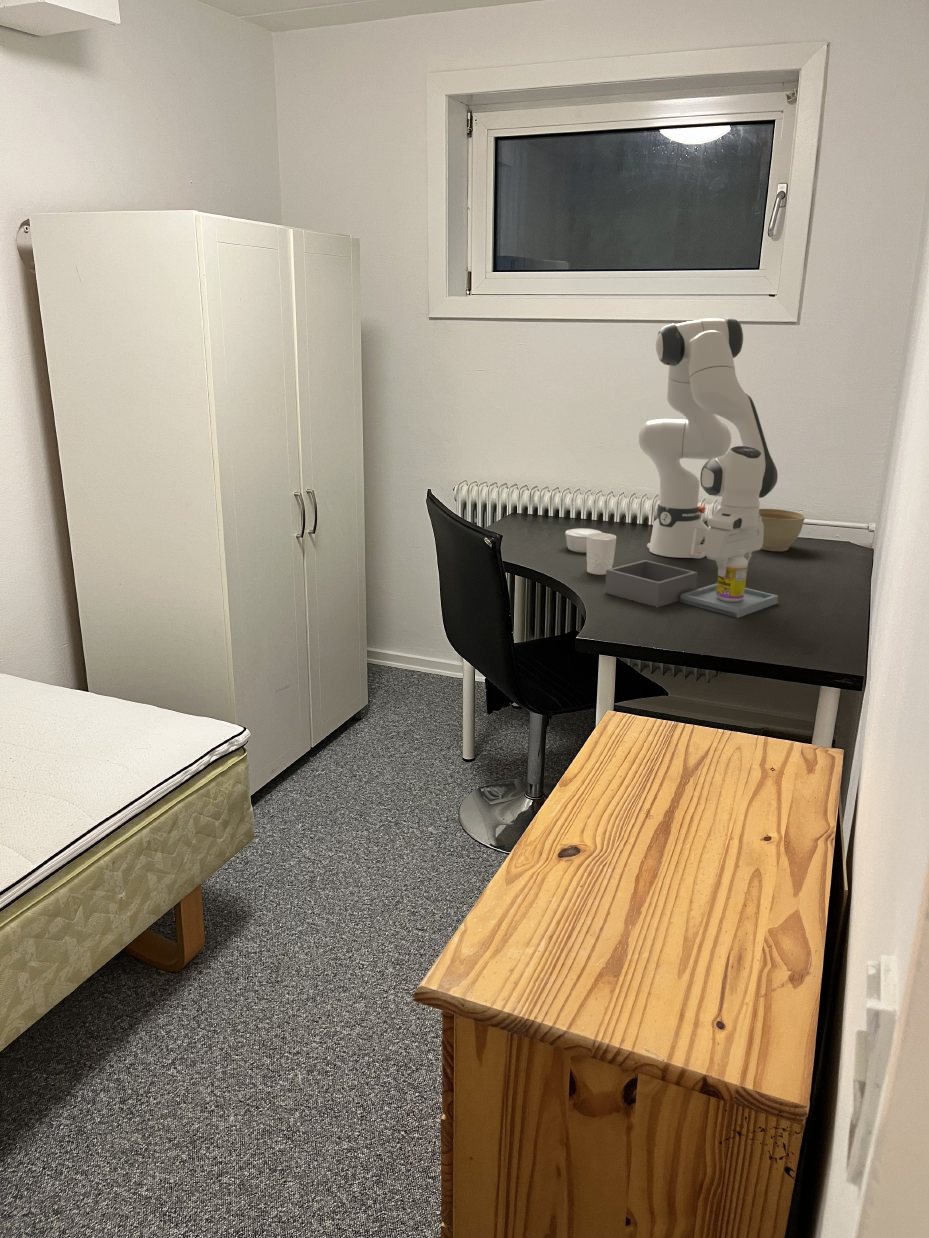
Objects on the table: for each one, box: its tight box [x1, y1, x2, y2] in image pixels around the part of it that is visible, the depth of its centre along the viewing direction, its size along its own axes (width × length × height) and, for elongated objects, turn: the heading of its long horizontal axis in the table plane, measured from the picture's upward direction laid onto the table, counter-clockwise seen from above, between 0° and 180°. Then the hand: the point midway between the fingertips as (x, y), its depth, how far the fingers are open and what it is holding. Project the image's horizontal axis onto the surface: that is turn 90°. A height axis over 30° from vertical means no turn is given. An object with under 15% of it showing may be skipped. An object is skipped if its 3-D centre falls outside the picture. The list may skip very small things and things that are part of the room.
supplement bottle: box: [716, 549, 749, 602], centre depth 221 cm, size 7×7×13 cm
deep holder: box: [604, 559, 698, 608], centre depth 228 cm, size 16×16×6 cm
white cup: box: [586, 532, 617, 576], centre depth 247 cm, size 8×8×10 cm
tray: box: [679, 582, 779, 619], centre depth 223 cm, size 18×16×2 cm
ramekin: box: [564, 527, 603, 554], centre depth 273 cm, size 11×11×5 cm
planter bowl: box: [759, 508, 806, 552], centre depth 278 cm, size 16×16×11 cm
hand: (732, 572), depth 221 cm, fingers open, 7 cm apart
